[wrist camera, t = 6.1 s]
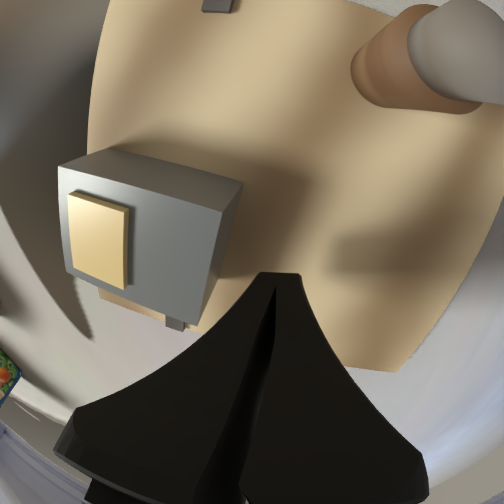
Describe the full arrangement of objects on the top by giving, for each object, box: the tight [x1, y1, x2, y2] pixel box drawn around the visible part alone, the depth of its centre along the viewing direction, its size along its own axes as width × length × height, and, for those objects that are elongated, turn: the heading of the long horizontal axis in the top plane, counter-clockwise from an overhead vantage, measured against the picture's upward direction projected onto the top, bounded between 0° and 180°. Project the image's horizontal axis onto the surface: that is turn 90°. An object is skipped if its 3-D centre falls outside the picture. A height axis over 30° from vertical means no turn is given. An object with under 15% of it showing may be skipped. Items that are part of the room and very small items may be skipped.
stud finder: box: [58, 148, 244, 326], centre depth 10 cm, size 6×4×3 cm
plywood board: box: [87, 0, 504, 373], centre depth 10 cm, size 18×16×1 cm
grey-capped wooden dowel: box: [350, 0, 504, 115], centre depth 4 cm, size 2×2×6 cm
